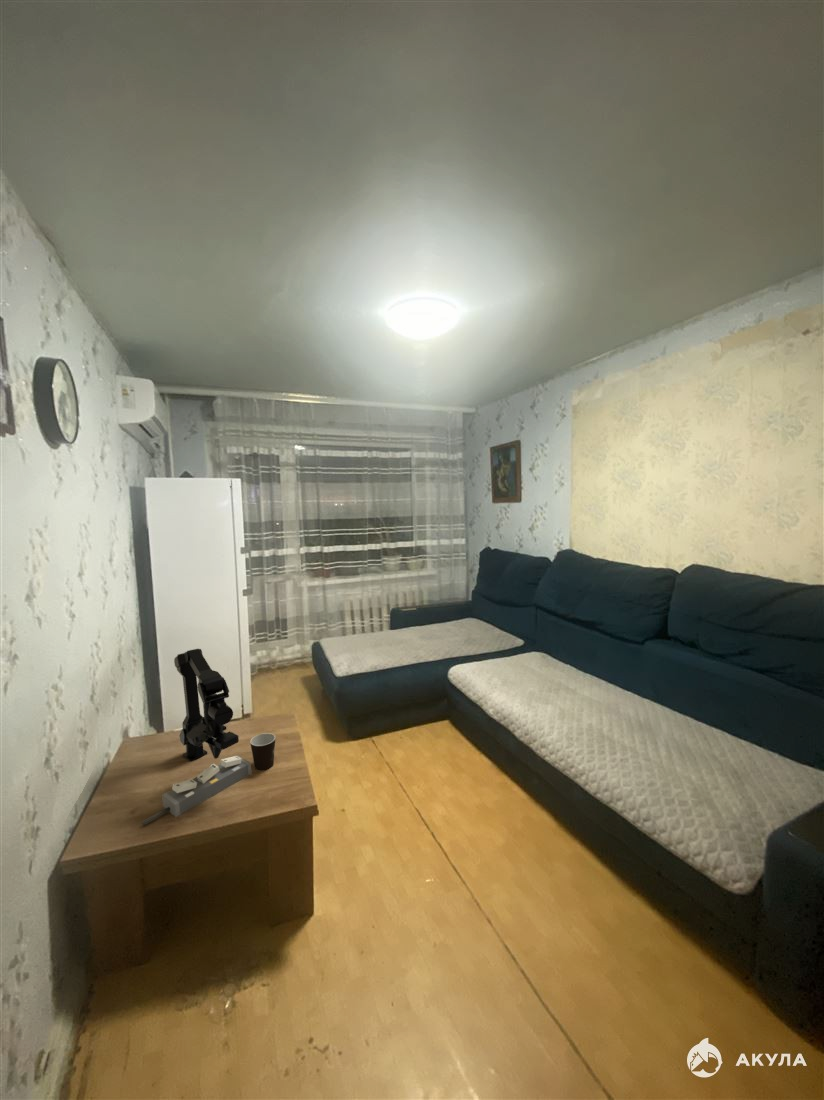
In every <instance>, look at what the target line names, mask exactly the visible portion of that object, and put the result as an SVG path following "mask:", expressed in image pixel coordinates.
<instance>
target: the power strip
mask: <svg viewBox="0 0 824 1100" xmlns="http://www.w3.org/2000/svg"><path fill="white" fill-rule="evenodd" d="M236 756H238V757H240V758H241V759H242V760H241V764H237V765H233V766H229V767H224V766H222V765H220V764H218V765H217V766H218V767H219V769H220V771H218V772H217V773H216V774H215V775H214V776H212V777H211V778H210V779H209V780H207V781H206V782H205V783H204V784H203V783H201V782H200V781H198V779H197V776H196V777H194V778H191V779H192V780H194V781H195V782H197V785H196V788H194V789H190V790H187V791H183V792H179V793H176V792H175V791H174V790H172V789H171V790H169V791H167V792H164V793H162V795H161V799H162V800H161V801H162V807H163V808H164V809H162V810H160V811H158V812H157V813H155V814H153V815H151V816H150V817H148V818H146V819H144V820H142V822H141V825H142V826H145V825H147V824H149V823H151V822H153V821H154V820H156V819H158V818H160V817H161V816H163V815H165V814H167V813H170V814H171V815H173V816H174V817H175V818H177V817H179V816H181V815H183V814H184V813H186V812H187V811H189V810H191V809H193V808H195V807H196V806H197V805H200V804H201V803H203V802H204V801H207V800H208V799H210V798H212V797H214V796H215V795H217V794H218V793H221V792H222V791H224V790H226V789H228V788H229V787H231V786H233V785H234V784H236V783H238V782H239V781H241V780H243V779H245V778H246V777H249V776H250V775H252V763H251V762H250V761H248V760H247V759H244V758H242V757H241V756H239V755H238V754H236Z"/></svg>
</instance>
